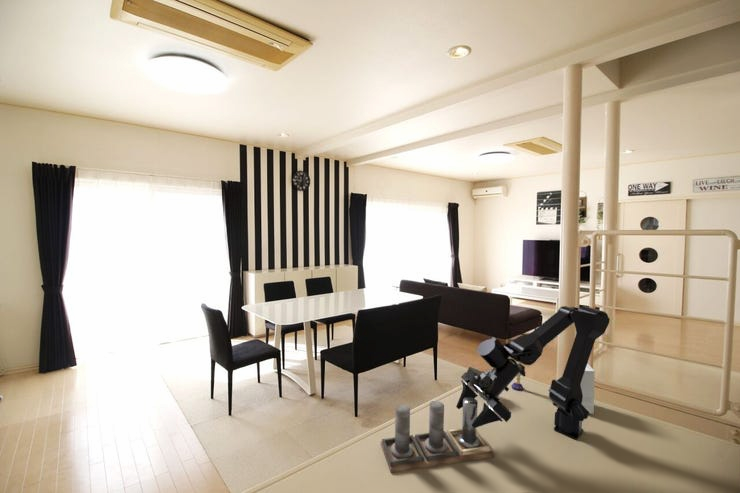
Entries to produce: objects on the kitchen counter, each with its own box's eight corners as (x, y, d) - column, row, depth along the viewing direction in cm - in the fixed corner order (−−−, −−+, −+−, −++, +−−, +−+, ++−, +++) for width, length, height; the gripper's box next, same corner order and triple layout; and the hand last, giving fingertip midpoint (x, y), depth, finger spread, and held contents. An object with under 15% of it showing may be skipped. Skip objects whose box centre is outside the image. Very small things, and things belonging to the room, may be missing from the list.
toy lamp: (524, 386, 130) (526, 345, 129) (525, 392, 126) (527, 349, 125) (511, 384, 132) (512, 343, 131) (511, 390, 128) (513, 348, 126)
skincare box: (594, 414, 112) (596, 372, 111) (573, 411, 114) (576, 369, 112) (586, 401, 120) (588, 361, 119) (567, 398, 122) (569, 359, 120)
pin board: (473, 431, 103) (475, 389, 102) (493, 456, 92) (495, 410, 91) (380, 444, 97) (380, 400, 96) (390, 472, 86) (391, 423, 85)
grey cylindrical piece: (481, 439, 98) (483, 399, 96) (477, 452, 92) (479, 409, 91) (460, 433, 100) (462, 393, 99) (455, 444, 95) (457, 403, 94)
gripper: (467, 346, 104) (433, 384, 103) (502, 374, 86) (462, 419, 85) (489, 368, 106) (456, 405, 105) (528, 399, 88) (489, 444, 87)
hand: (464, 417), depth 95 cm, fingers open, 9 cm apart
